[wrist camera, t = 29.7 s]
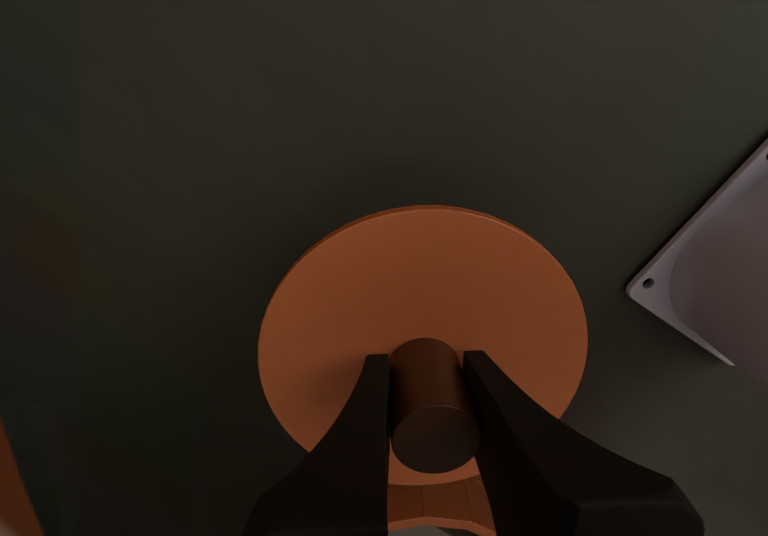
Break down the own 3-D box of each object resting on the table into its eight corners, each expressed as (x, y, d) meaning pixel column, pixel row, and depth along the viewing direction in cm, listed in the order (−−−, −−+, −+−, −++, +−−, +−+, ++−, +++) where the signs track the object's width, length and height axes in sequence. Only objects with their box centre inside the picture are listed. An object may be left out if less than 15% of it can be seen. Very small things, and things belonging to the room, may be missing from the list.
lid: (375, 127, 13) (376, 153, 9) (640, 308, 15) (732, 390, 11) (211, 387, 16) (161, 489, 12) (450, 498, 19) (471, 612, 15)
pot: (383, 369, 23) (388, 484, 17) (529, 446, 26) (583, 572, 19) (289, 488, 26) (264, 622, 20) (427, 546, 29) (444, 682, 23)
